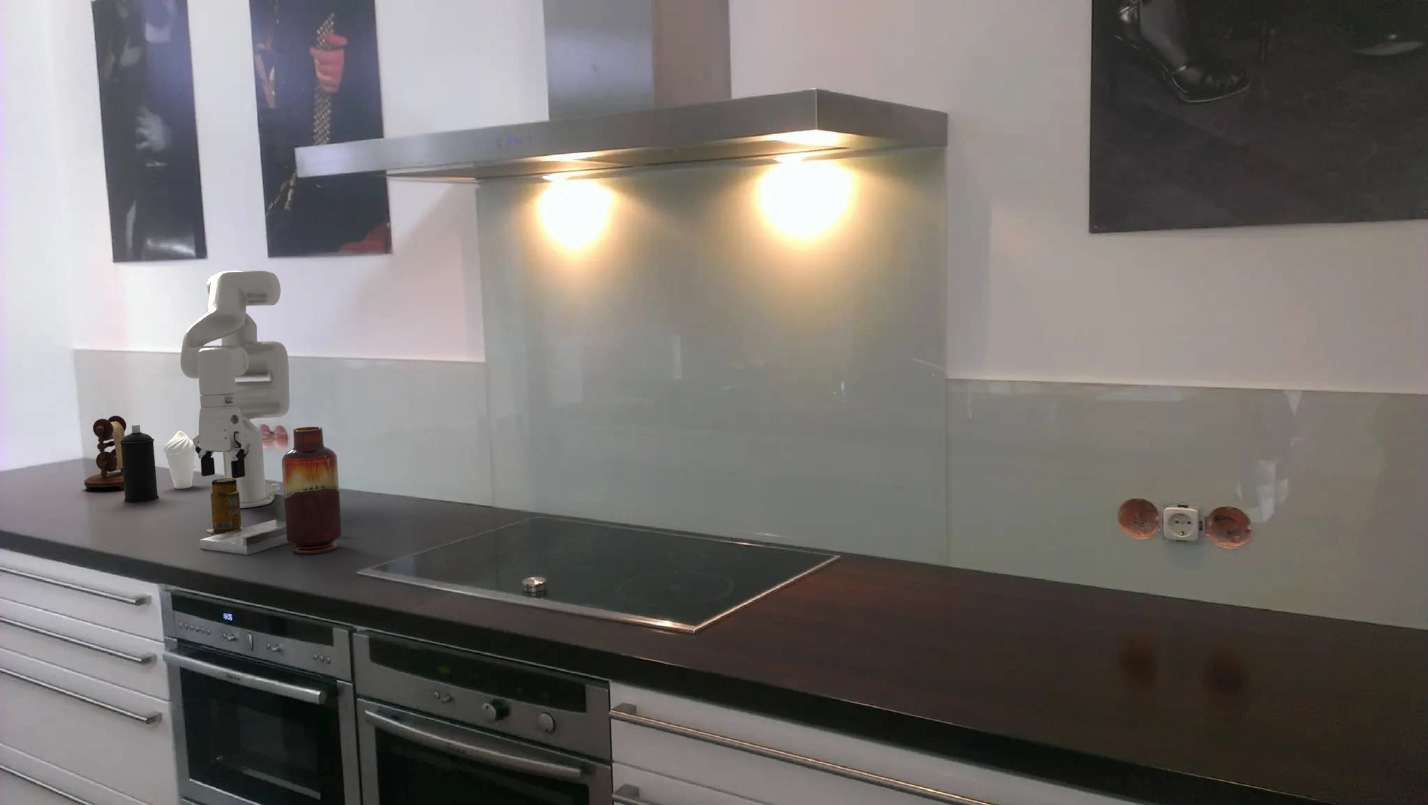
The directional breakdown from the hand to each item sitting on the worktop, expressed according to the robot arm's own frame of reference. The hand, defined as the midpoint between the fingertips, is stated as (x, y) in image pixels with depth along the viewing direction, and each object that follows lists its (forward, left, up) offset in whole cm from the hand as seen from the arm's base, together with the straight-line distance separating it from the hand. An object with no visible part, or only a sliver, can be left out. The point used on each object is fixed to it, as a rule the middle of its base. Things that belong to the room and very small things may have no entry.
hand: (223, 476), depth 249 cm
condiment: (-1, 0, -13) cm, 13 cm away
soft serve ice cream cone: (-35, -57, -13) cm, 68 cm away
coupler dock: (+2, +15, -13) cm, 20 cm away
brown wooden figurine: (-28, -76, -13) cm, 82 cm away
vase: (+4, +32, -13) cm, 35 cm away
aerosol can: (-19, -53, -13) cm, 58 cm away
